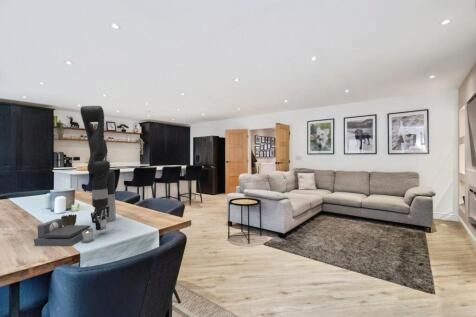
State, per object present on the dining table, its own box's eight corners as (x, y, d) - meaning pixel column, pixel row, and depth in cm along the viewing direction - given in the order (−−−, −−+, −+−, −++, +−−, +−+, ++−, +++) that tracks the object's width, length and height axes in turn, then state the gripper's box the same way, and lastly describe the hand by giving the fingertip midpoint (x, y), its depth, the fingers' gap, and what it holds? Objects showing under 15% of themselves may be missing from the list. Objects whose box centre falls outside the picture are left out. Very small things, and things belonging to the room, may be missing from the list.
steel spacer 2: (99, 227, 133) (99, 218, 132) (108, 227, 133) (108, 218, 132) (93, 230, 128) (93, 221, 127) (103, 230, 128) (102, 221, 127)
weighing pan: (66, 227, 129) (66, 225, 129) (90, 227, 129) (90, 225, 129) (43, 237, 114) (43, 234, 114) (69, 237, 114) (69, 235, 114)
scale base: (60, 234, 130) (59, 217, 130) (92, 234, 130) (92, 217, 129) (34, 245, 114) (33, 227, 114) (71, 245, 114) (70, 227, 113)
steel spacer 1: (86, 239, 122) (85, 229, 122) (95, 239, 122) (95, 229, 122) (79, 243, 117) (79, 232, 117) (89, 243, 117) (89, 232, 117)
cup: (63, 228, 140) (63, 214, 140) (78, 226, 143) (78, 213, 143) (59, 232, 133) (59, 217, 133) (74, 230, 136) (74, 216, 136)
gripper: (100, 194, 136) (101, 223, 137) (84, 200, 122) (85, 232, 123) (113, 194, 136) (114, 223, 137) (99, 200, 122) (100, 232, 123)
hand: (101, 227), depth 130 cm, fingers closed on steel spacer 2, 5 cm apart
